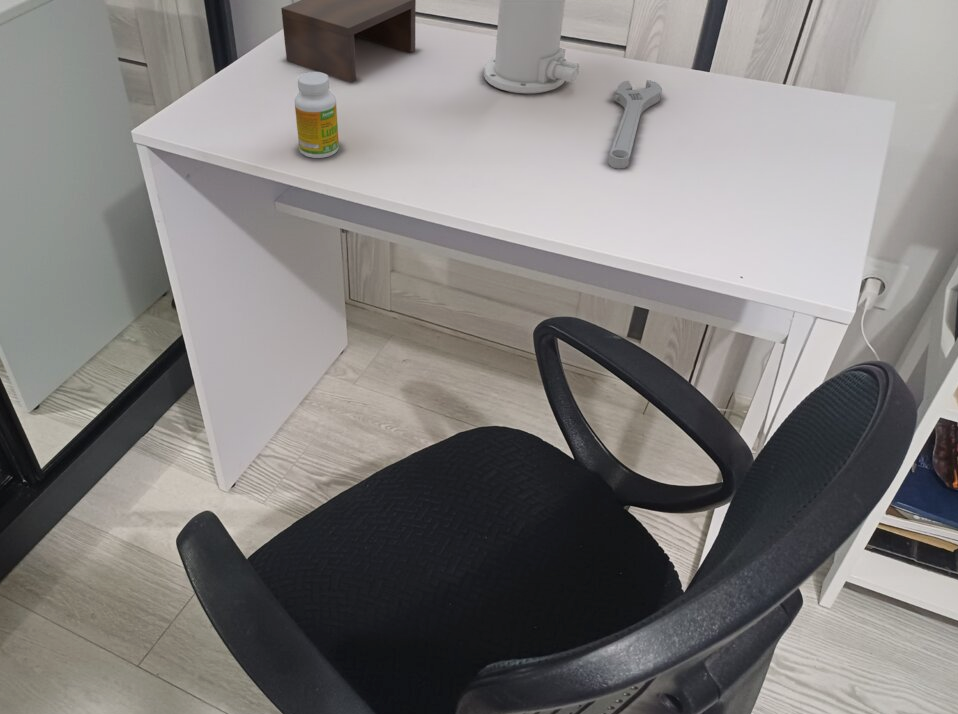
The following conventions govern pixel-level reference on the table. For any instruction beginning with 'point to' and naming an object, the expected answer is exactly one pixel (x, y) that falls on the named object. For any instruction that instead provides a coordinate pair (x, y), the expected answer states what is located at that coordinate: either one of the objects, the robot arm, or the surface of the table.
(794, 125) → the table surface
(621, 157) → the adjustable wrench
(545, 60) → the robot arm
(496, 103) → the table surface
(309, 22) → the shelf
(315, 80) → the supplement bottle
